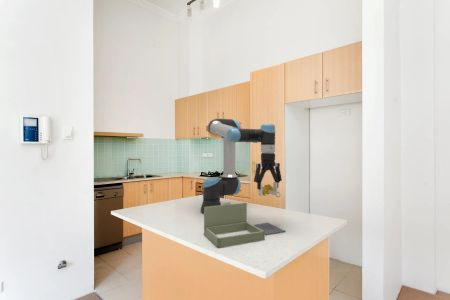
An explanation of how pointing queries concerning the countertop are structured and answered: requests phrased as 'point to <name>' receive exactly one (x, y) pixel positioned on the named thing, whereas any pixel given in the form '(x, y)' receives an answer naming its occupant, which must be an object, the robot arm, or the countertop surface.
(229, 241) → the case
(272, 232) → the pad
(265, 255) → the countertop surface
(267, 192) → the pressure relief valve
